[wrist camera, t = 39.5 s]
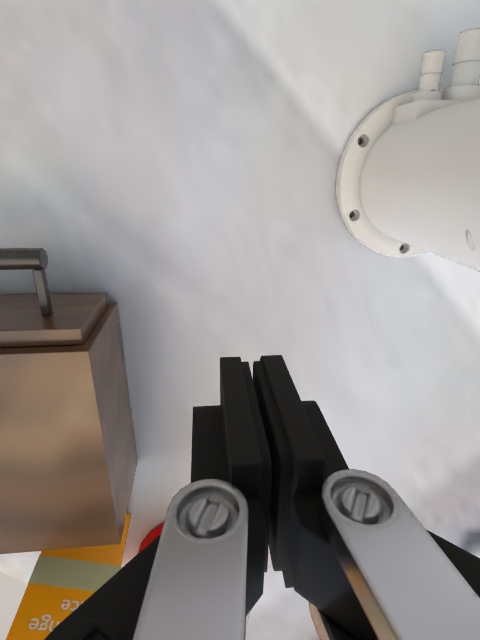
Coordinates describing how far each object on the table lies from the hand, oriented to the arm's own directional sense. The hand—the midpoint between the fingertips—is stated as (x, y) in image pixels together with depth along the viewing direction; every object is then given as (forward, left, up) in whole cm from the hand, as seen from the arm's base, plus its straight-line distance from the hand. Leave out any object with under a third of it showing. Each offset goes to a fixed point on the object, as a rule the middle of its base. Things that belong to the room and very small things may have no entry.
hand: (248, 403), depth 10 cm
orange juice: (+33, -15, -23) cm, 43 cm away
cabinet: (+14, -15, -23) cm, 31 cm away
